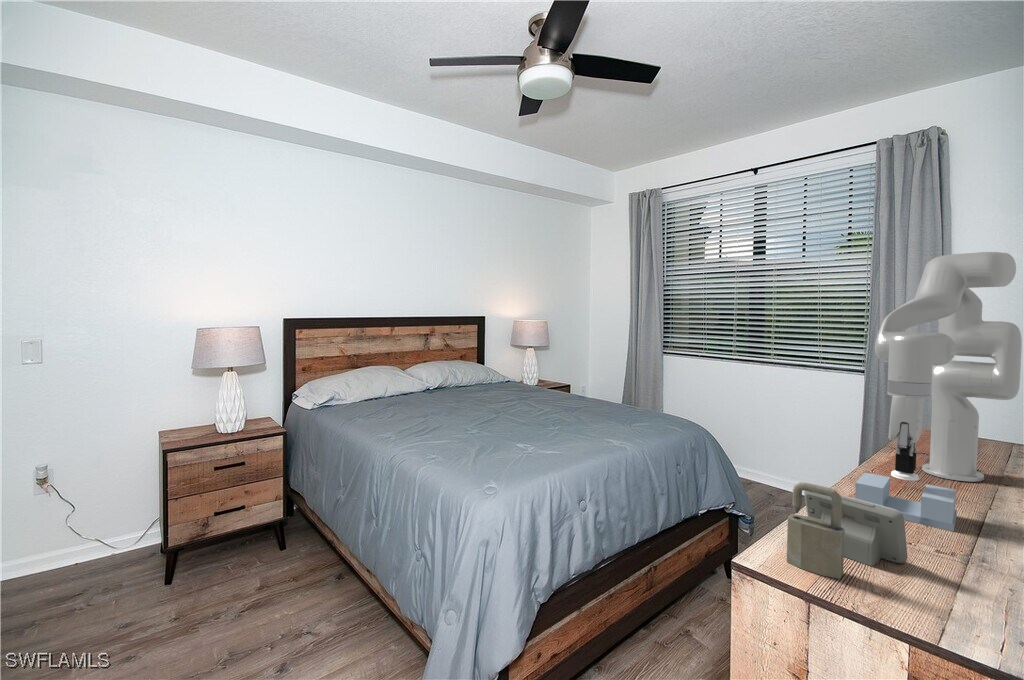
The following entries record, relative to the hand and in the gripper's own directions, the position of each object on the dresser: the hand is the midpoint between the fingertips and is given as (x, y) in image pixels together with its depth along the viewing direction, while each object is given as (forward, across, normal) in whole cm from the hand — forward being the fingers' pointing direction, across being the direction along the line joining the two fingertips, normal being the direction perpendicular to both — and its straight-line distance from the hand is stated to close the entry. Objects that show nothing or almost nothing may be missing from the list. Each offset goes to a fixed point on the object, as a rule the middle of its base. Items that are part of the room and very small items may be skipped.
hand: (905, 469), depth 107 cm
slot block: (+10, 0, 0) cm, 10 cm away
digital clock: (+10, +28, -5) cm, 31 cm away
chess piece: (+2, 0, 0) cm, 2 cm away
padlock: (+10, +41, -8) cm, 43 cm away
